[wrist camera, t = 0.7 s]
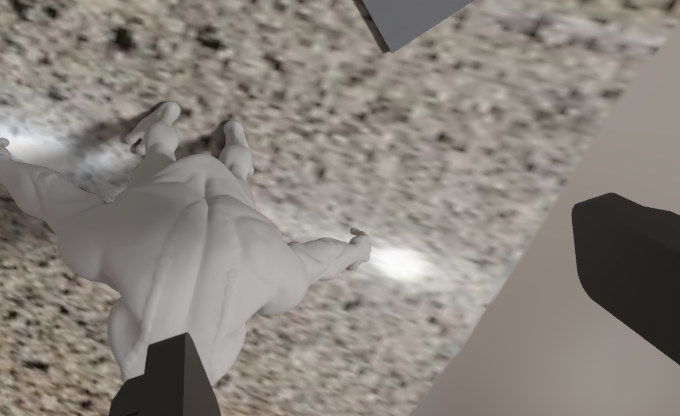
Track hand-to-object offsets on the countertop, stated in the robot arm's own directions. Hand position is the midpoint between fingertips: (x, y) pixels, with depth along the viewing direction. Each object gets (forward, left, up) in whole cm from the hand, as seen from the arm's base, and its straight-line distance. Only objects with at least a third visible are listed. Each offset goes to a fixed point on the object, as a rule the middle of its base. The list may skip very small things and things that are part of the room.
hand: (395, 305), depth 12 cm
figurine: (+2, -8, -24) cm, 26 cm away
